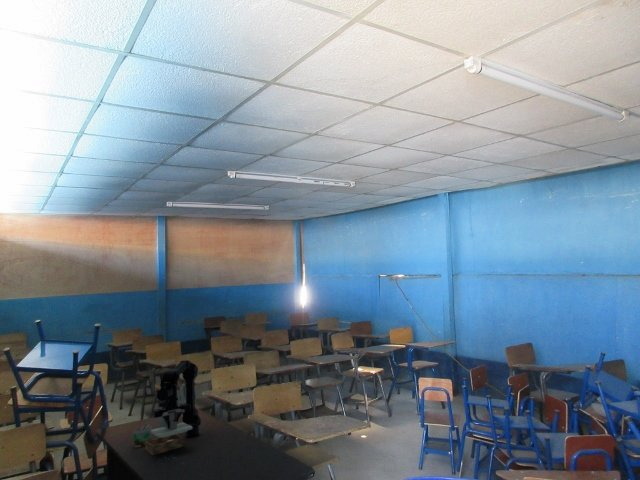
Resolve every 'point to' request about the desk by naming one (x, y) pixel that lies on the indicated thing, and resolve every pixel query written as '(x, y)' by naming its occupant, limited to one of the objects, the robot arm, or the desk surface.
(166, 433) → the lid
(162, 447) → the crate
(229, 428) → the desk surface
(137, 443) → the food container
